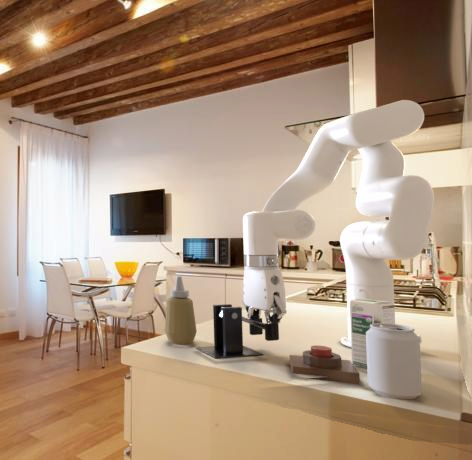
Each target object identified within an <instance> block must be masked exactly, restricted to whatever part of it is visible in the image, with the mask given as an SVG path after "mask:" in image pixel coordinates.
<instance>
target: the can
mask: <svg viewBox="0 0 472 460" xmlns="http://www.w3.org/2000/svg"><path fill="white" fill-rule="evenodd" d="M370 327H371V328H370V329H369V330H368V331H367V332H366V351H367V368H366V375H367V386H368V387H369V388H371V390H373V391H374V393H376V394H378V395H381V396H383V397H388V398H393V399H398V400H413V399H414V400H415V399H416V398H417V397H419V396H420V395H422V394H423V387H422V384H423V383H422V359H421V358H422V357H421V343H420V338H419V337H418V336H417V335H418V334H417V333H415V331H416V329H415V328H414V327H412V326H408V325H405V324H397V323H395V324H388V323H374V324H370Z"/></svg>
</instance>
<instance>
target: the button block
mask: <svg viewBox="0 0 472 460" xmlns="http://www.w3.org/2000/svg"><path fill="white" fill-rule="evenodd" d="M288 360H289V364H290V368H291V372H292V374H299V375H308V376H317V377H308V378H306V380H316V381H323V382H332V383H342V384H351V385H360V384H361V377H360V375H361V374H360V372H359V370H357V368H356V367H355V365H353V364H352V360H349V359H342V357H341V355H340V354H339V353H335V352H332V357H327V358H326V357H318V356H313V355H311V349H310V350H309V349H307V350H304V351H302V355H295V354H289V355H288Z"/></svg>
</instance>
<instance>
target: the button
mask: <svg viewBox="0 0 472 460" xmlns="http://www.w3.org/2000/svg"><path fill="white" fill-rule="evenodd" d="M310 350H311V355H313V356H318V357H326V358H327V357H332V353H333V349H332V347H329V346H325V345H311V346H310Z"/></svg>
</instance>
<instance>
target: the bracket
mask: <svg viewBox="0 0 472 460" xmlns="http://www.w3.org/2000/svg"><path fill="white" fill-rule="evenodd" d="M221 306H222V307H223V308H222V314H223V317H220V316H218V315H219V312H220V309H221ZM212 308H213V309H212V312H213V314H212V315H213V345H210V346H208V345H207V346H196V347H195V349H196V350H198V351H200V352H202V353H204V354H206V355H207V356H209V357H211V358H213V359H215V360H216V359H217V360H218V359H219V360H220V359H233V358H246V357H260V356H261V357H262V356H263V357H264V354H263V353H262V352H259V351H258V350H257V351H256V350H255V349H252V348H249V347H247V346H244V341H243V339H244V338H243V337H244V336H243V335H244V333H243V321H242V317H243V308H242V306H233V305H232V304H230V303H226V304H213V305H212Z"/></svg>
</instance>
